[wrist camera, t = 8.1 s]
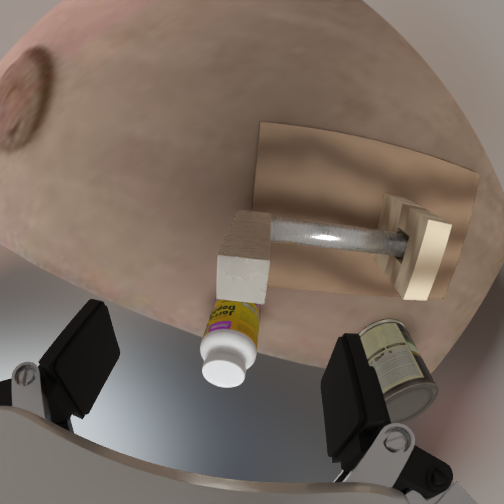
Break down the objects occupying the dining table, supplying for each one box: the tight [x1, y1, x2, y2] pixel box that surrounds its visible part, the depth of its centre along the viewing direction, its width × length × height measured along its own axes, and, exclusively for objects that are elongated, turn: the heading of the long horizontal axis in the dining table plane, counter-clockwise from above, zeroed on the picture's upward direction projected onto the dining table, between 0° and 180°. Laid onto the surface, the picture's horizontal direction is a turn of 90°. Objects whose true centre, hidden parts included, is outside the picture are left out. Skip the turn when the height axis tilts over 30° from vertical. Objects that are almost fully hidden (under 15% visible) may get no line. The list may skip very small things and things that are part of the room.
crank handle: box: [216, 210, 409, 304], centre depth 21 cm, size 18×3×11 cm, turn 85°
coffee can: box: [359, 319, 438, 424], centre depth 34 cm, size 10×10×14 cm
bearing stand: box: [252, 122, 480, 301], centre depth 27 cm, size 20×31×12 cm, turn 85°
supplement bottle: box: [200, 299, 260, 388], centre depth 33 cm, size 7×7×13 cm
